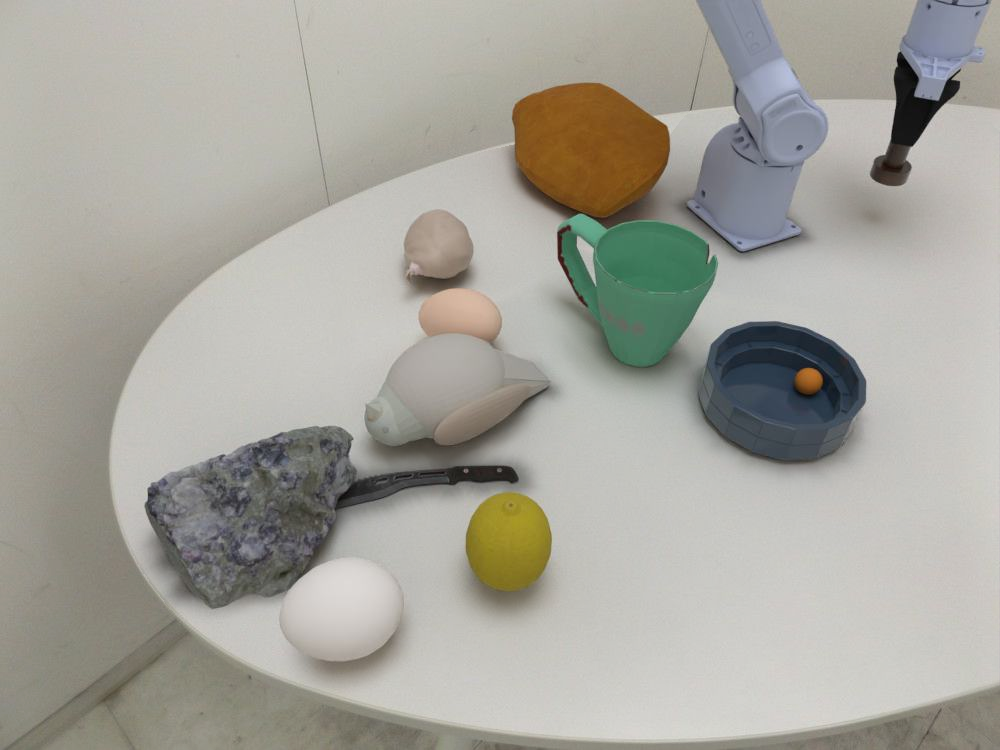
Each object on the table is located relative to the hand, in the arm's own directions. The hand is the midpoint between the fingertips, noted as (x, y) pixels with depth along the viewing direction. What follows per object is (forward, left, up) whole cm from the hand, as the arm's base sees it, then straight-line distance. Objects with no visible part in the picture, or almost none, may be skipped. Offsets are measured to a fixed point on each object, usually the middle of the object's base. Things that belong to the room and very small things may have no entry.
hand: (902, 137), depth 83 cm
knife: (+14, -58, -10) cm, 60 cm away
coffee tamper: (0, 0, -4) cm, 4 cm away
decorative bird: (+7, -51, -10) cm, 52 cm away
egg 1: (+22, -62, -6) cm, 66 cm away
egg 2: (+3, -45, -6) cm, 46 cm away
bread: (-18, -22, -11) cm, 30 cm away
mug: (+4, -34, -10) cm, 36 cm away
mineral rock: (+7, -68, -6) cm, 69 cm away
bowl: (+17, -27, -10) cm, 34 cm away
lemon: (+22, -54, -10) cm, 59 cm away
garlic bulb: (-11, -42, -8) cm, 44 cm away
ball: (+17, -24, -8) cm, 30 cm away
